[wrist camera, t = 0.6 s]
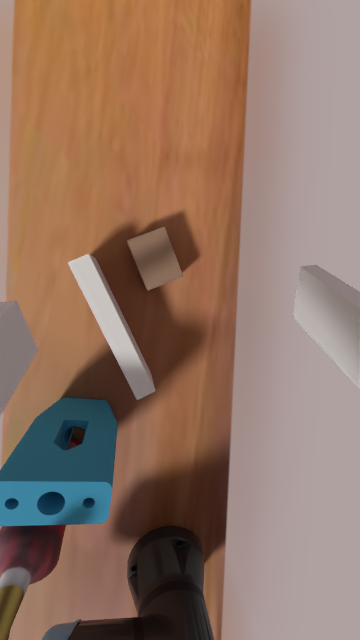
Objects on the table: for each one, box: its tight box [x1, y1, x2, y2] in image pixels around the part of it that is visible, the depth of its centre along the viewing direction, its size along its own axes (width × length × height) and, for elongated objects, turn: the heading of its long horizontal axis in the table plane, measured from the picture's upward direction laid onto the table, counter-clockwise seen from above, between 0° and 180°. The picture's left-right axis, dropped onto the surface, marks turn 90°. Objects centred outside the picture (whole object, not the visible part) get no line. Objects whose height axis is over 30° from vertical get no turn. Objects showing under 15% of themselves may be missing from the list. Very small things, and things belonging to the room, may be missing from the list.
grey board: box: [68, 254, 155, 400], centre depth 42 cm, size 22×3×8 cm, turn 23°
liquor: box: [0, 438, 80, 640], centre depth 34 cm, size 7×7×28 cm
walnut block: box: [127, 226, 183, 290], centre depth 44 cm, size 8×6×5 cm
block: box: [0, 397, 117, 526], centre depth 38 cm, size 12×5×20 cm, turn 81°
